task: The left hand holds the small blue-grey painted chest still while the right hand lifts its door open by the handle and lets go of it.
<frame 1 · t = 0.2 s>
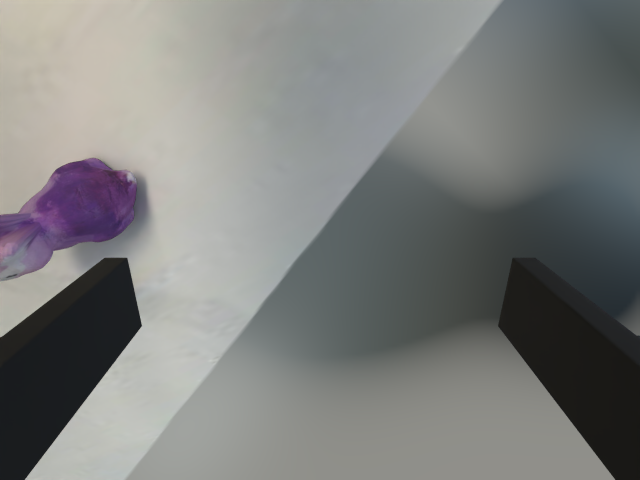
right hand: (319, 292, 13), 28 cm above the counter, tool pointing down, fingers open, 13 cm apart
figurine: (99, 202, 41), on the counter
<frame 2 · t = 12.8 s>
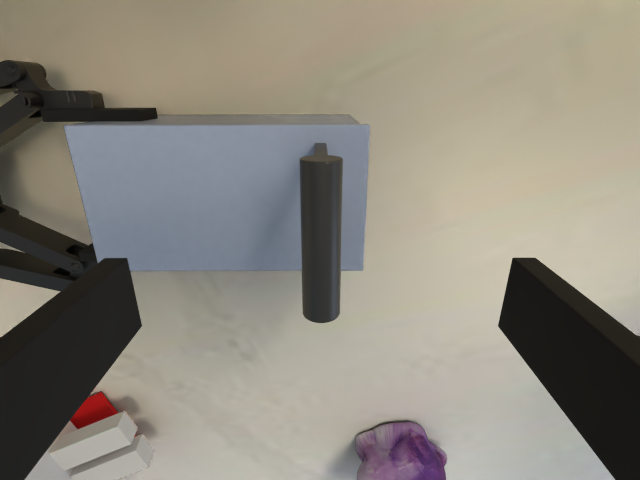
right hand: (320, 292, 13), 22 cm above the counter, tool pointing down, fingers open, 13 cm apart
toy: (45, 439, 45), on the counter
figurine: (390, 444, 46), on the counter
chest: (250, 170, 33), on the counter, touching left hand
door: (210, 220, 20), point 14 cm above the counter, hinge at 0.0°
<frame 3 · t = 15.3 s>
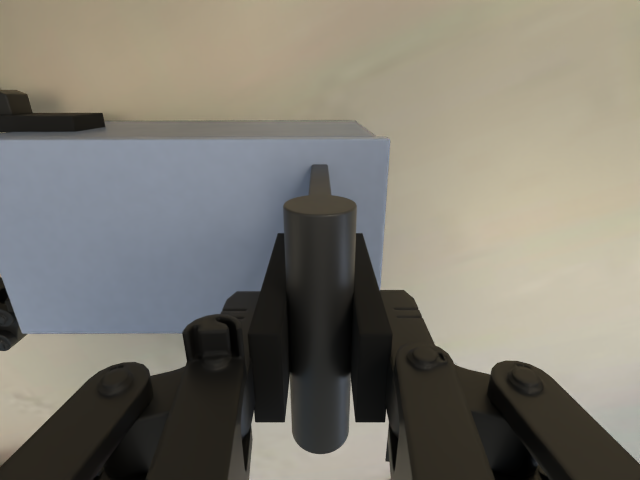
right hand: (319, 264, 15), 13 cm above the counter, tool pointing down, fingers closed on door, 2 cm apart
chest: (232, 190, 27), on the counter, touching left hand
door: (157, 280, 14), point 14 cm above the counter, hinge at 0.2°, touching right hand
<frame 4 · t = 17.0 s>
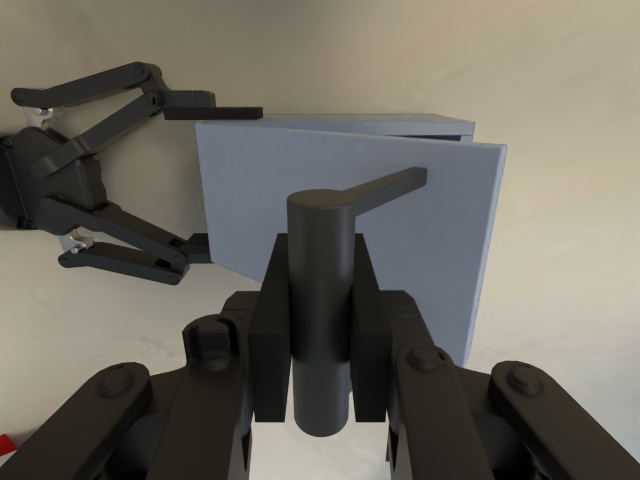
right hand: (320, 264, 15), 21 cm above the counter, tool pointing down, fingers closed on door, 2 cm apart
left hand: (264, 182, 29), fingers closed on chest, 9 cm apart
toy: (113, 430, 47), on the counter
chest: (333, 168, 34), on the counter, touching left hand
door: (259, 243, 17), point 19 cm above the counter, hinge at 37.5°, touching right hand
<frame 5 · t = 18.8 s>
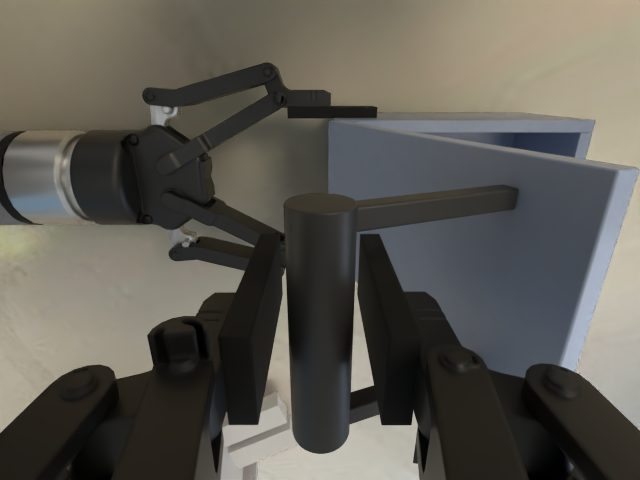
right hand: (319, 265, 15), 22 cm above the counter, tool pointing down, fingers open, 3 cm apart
left hand: (370, 178, 30), fingers closed on chest, 9 cm apart
toy: (183, 421, 48), on the counter
chest: (421, 165, 35), on the counter, touching left hand
door: (336, 242, 17), point 20 cm above the counter, hinge at 68.1°
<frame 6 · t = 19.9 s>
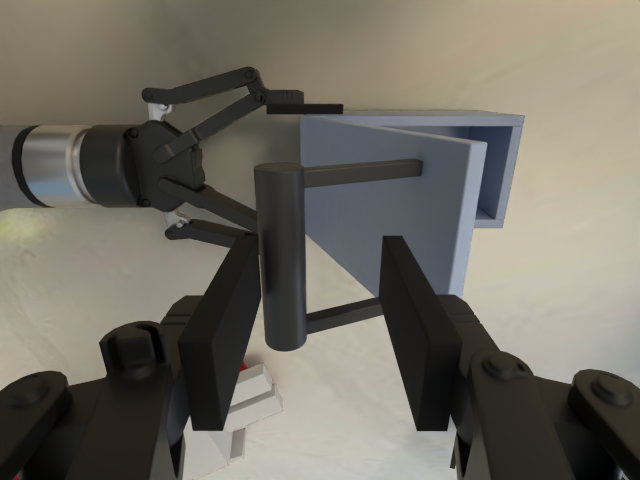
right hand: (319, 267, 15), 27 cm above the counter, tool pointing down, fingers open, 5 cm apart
left hand: (340, 166, 34), fingers closed on chest, 9 cm apart
toy: (178, 393, 52), on the counter
chest: (389, 156, 40), on the counter, touching left hand
door: (302, 211, 22), point 20 cm above the counter, hinge at 66.5°
when the left hand's fingers open (6 cm above the counter, at t = 22.7 s): chest stays where it is, on the counter.
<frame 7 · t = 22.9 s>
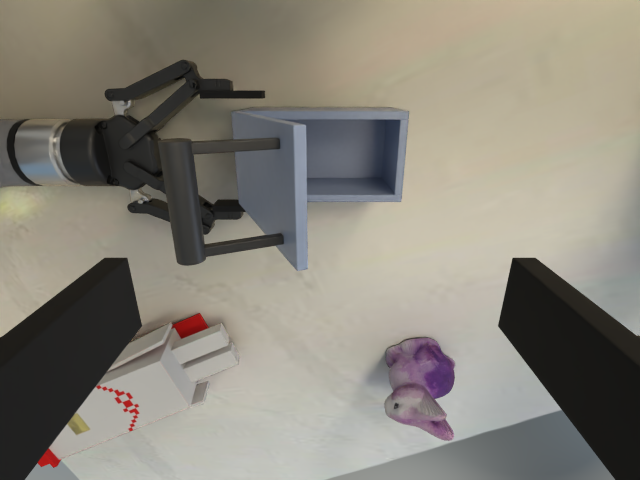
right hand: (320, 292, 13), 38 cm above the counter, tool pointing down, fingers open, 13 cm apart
left hand: (266, 153, 42), fingers open, 12 cm apart
toy: (152, 353, 60), on the counter
figurine: (411, 357, 61), on the counter
chest: (322, 146, 48), on the counter
door: (218, 179, 30), point 20 cm above the counter, hinge at 66.0°
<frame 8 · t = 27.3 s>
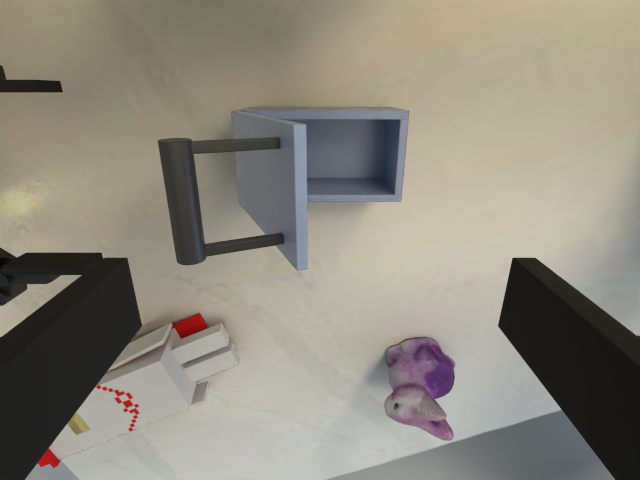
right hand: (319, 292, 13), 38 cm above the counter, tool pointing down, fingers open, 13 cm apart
toy: (152, 353, 60), on the counter
figurine: (411, 357, 61), on the counter
chest: (322, 146, 48), on the counter
door: (218, 179, 30), point 20 cm above the counter, hinge at 66.0°
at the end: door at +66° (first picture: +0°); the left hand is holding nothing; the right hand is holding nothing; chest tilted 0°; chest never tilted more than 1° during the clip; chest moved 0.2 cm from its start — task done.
